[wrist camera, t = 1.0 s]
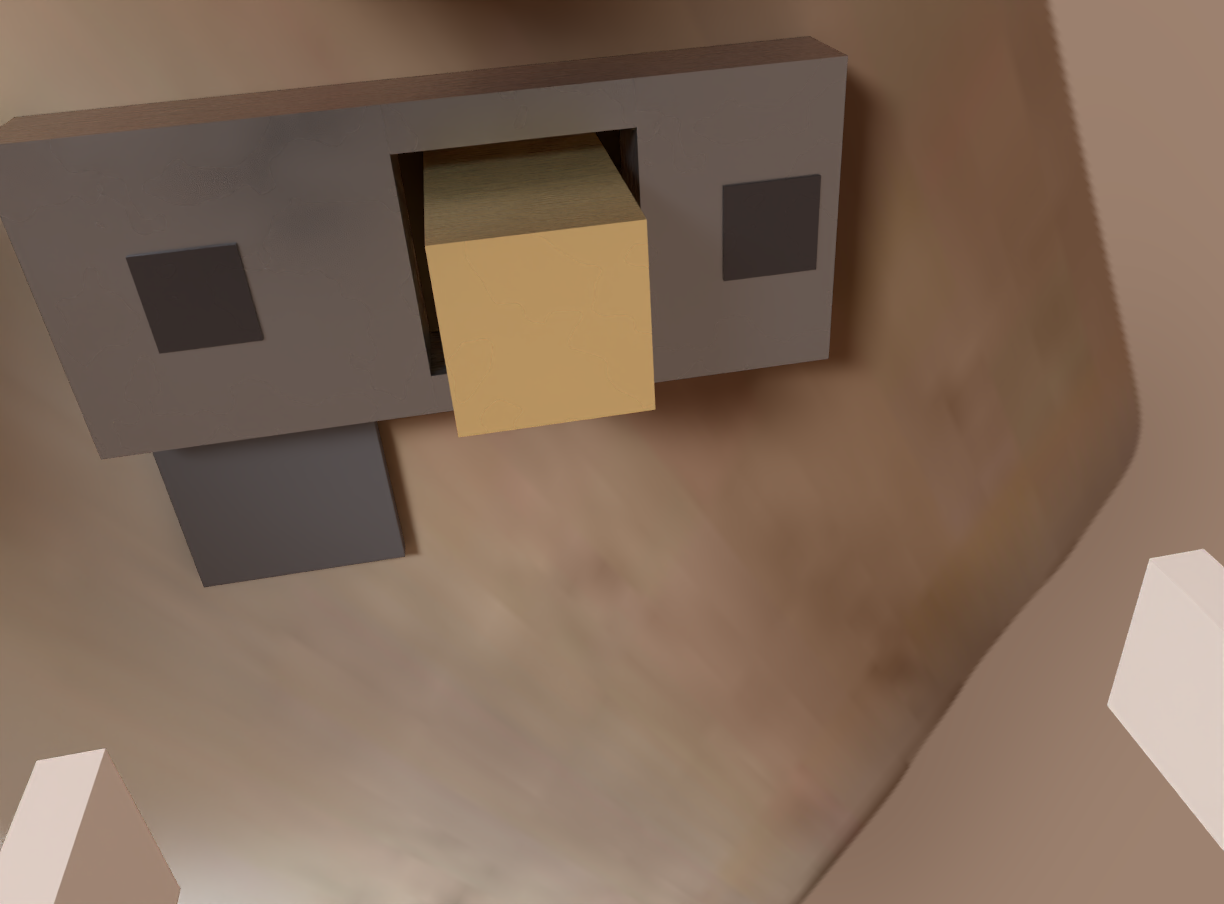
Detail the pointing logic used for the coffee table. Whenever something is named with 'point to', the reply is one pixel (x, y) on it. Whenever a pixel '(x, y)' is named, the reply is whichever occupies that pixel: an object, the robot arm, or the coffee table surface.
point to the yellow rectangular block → (538, 283)
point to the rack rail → (403, 232)
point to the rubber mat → (284, 503)
